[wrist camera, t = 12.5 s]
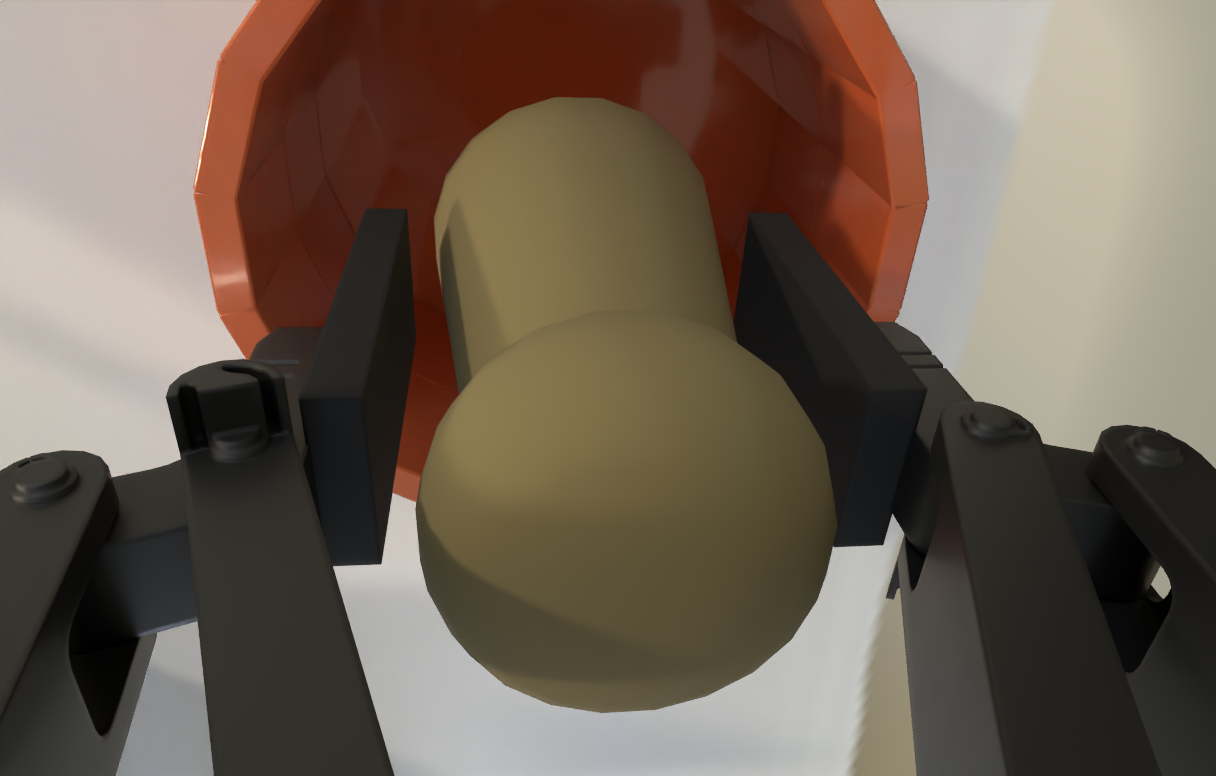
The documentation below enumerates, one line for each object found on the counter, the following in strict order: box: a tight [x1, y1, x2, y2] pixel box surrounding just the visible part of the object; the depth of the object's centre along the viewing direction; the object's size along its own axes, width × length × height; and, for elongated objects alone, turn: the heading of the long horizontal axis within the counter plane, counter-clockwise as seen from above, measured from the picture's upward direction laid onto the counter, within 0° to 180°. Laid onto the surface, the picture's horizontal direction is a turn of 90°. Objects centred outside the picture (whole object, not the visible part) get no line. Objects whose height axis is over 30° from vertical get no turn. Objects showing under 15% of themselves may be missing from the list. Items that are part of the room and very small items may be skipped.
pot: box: [193, 0, 929, 502], centre depth 22 cm, size 15×15×9 cm
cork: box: [416, 97, 838, 713], centre depth 14 cm, size 6×6×11 cm
